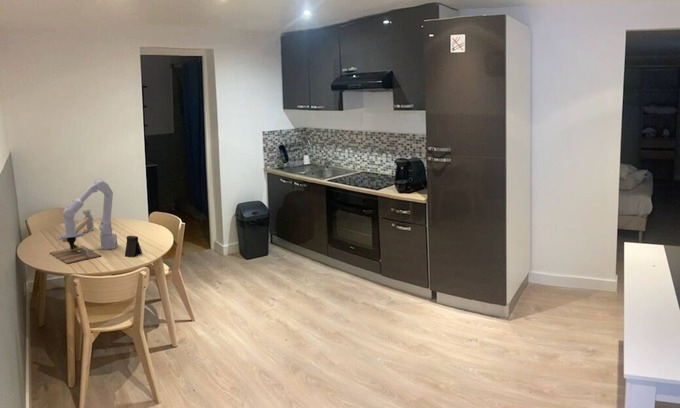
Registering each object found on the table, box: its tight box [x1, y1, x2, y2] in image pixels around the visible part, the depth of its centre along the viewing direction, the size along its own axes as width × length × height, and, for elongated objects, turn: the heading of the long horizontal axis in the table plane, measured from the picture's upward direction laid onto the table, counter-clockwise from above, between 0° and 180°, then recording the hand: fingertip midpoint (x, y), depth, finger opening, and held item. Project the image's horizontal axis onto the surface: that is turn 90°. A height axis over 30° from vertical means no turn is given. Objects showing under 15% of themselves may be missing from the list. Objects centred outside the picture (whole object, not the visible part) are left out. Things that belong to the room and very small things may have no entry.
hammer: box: [61, 207, 95, 242], centre depth 375 cm, size 16×5×30 cm
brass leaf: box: [69, 243, 83, 252], centre depth 338 cm, size 13×2×4 cm, turn 52°
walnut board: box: [49, 245, 102, 265], centre depth 333 cm, size 28×20×1 cm
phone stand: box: [124, 235, 143, 258], centre depth 334 cm, size 9×6×12 cm, turn 164°
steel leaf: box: [78, 247, 89, 257], centre depth 331 cm, size 13×2×4 cm, turn 46°
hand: (72, 249), depth 338 cm, fingers closed
